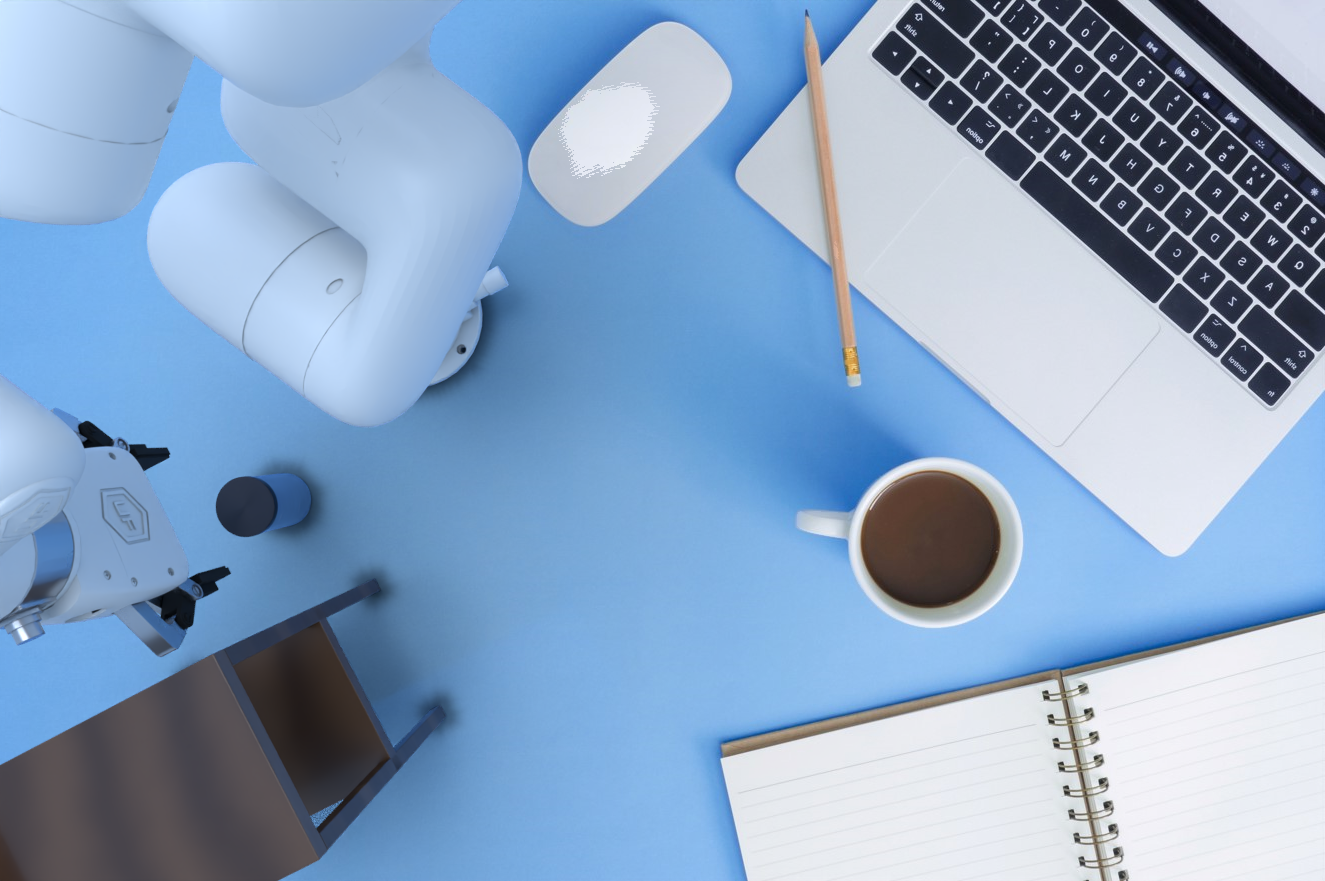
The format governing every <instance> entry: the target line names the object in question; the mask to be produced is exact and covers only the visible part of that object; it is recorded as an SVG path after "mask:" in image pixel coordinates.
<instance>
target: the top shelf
mask: <svg viewBox="0 0 1325 881" xmlns="http://www.w3.org/2000/svg"><path fill="white" fill-rule="evenodd" d="M316 828H317V826H316V825H315V823H314V822H313V819H312V816H310V815H309V814H308V812H307V810H306V808H305V806H304V804H303V802H302V800H301V798H300V796H299V794H298V792H297V790H296V788H295V786H294V784H293V783H292V781H291V779H290V777H289V775H288V773H287V771H286V769H285V767H284V765H283V763H282V761H281V759H280V757H279V755H278V753H277V752H276V750H275V748H274V746H273V744H272V742H271V740H270V738H269V736H268V734H267V732H266V730H265V728H264V726H263V724H262V722H261V721H260V719H259V717H258V715H257V713H256V711H255V709H254V707H253V705H252V703H251V701H250V699H249V697H248V695H247V693H246V692H245V690H244V688H243V686H242V684H241V682H240V680H239V678H238V676H237V674H236V672H235V670H234V668H233V666H232V664H231V662H230V661H229V659H228V657H227V655H226V653H225V651H224V648H222V649H220V650H218V651H215V652H214V653H211V654H210V655H207V656H206V657H204V658H202V659H200V660H198V661H196V662H194V663H192V664H191V665H188V666H187V667H184V668H183V669H180V670H179V671H176V672H174V673H173V674H171V675H169V676H167V677H166V678H163V679H162V680H160V681H158V682H156V683H154V684H152V685H150V686H148V687H146V688H145V689H142V690H140V691H139V692H137V693H135V694H132V695H131V696H129V697H127V698H125V699H124V700H121V701H119V702H118V703H116V704H114V705H112V706H110V707H108V708H106V709H104V710H102V711H100V712H98V713H96V714H95V715H93V716H91V717H89V718H87V719H85V720H83V721H81V722H79V723H77V724H76V725H73V726H72V727H69V728H67V729H66V730H64V731H62V732H60V733H59V734H56V735H54V736H52V737H51V738H49V739H46V740H45V741H43V742H41V743H39V744H37V745H35V746H33V747H32V748H30V749H28V750H25V751H24V752H22V753H20V754H18V755H15V756H14V757H13V758H11V759H9V760H7V761H5V762H2V763H1V764H0V881H280V880H282V879H284V878H287V877H289V876H291V875H293V874H295V873H297V872H299V871H301V870H302V869H305V868H306V867H309V866H311V865H313V864H315V863H317V862H318V861H320V860H321V859H322V858H323V857H324V856H325V854H326V853H327V852H328V850H327V848H326V846H325V844H324V843H323V841H322V839H321V837H320V835H319V833H318V831H317V829H316Z"/></svg>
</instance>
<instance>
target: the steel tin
mask: <svg viewBox="0 0 1325 881" xmlns="http://www.w3.org/2000/svg"><path fill="white" fill-rule="evenodd" d="M311 505H312V493H311V490H310V488H309V486H308V484H307V483H306V482H305V481H304V480H303V479H302V478H301V477H300V476H297V475H296V474H294V473H290V472H281V473H273V474H272V473H271V474H264V475H255V476H252V475H245V476H244V475H243V476H238V477H235V478H232V479H230V480H229V481H227V482H226V483H225V484H224V485H223V486H222V487H221V488H220V490H219V492H218V494H217V496H216V500H215V513H216V516H217V519H218V522H219V523H220V525H221V526H222V527H223V529H225V530H226V531H227V532H229V533H230V534H231V535H234V536H236V537H240V538H253V537H255V536H260V535H261V534H263V533H267V532H271V531H275V530H278V529H283V528H288V527H291V526H294V525H297V524H299V523H300V522H302V521H303V520H304V519H305V518H306V517H307V515H308V514H309V512H310V510H311Z"/></svg>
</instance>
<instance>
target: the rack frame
mask: <svg viewBox="0 0 1325 881" xmlns="http://www.w3.org/2000/svg"><path fill="white" fill-rule="evenodd" d="M380 591H381V587H380V586H379V584H378V582H377V580H376V578H372V579H369V580H368V581H366V582H363V583H362V584H359V585H357V586H355V587H353V588H351V589H349V590H347V591H344V592H342V593H340V594H337V595H336V596H333V597H331V598H329V599H327V600H324V601H323V602H321V603H318V604H317V605H314V606H312V607H310V608H307V609H305V610H304V611H301V612H299V613H297V614H295V615H292V616H290V617H288V618H286V619H284V620H282V621H280V622H277V623H276V624H273V625H271V626H270V627H267V628H265V629H262V630H261V631H259V632H256V633H254V634H252V635H250V636H247V637H245V638H243V639H241V640H239V641H237V642H235V643H232V644H230V645H228V646H226V647H224V648H223V649H224V651H225V653H226V655H227V657H228V659H229V661H230V662H231V664H232V666H233V668H234V670H235V672H236V674H237V676H238V678H239V680H240V682H241V684H242V686H243V688H244V690H245V692H246V693H247V695H248V697H249V699H250V701H251V703H252V705H253V707H254V709H255V711H256V713H257V715H258V717H259V719H260V721H261V722H262V724H263V726H264V728H265V730H266V732H267V734H268V736H269V738H270V740H271V742H272V744H273V746H274V748H275V750H276V752H277V753H278V755H279V757H280V759H281V761H282V763H283V765H284V767H285V769H286V771H287V773H288V775H289V777H290V779H291V781H292V783H293V784H294V786H295V788H296V790H297V792H298V794H299V796H300V798H301V800H302V802H303V804H304V806H305V808H306V810H307V812H308V814H309V815H310V817H312V816H313V815H316V814H318V813H319V812H322V811H324V810H325V809H327V808H329V807H332V806H333V805H336V804H338V803H339V804H338V805H336V807H335V808H334V809H333V810H332V811H331V812H330V813H329V814H328V815H327V816H326V817H325V818H324V819H323V821H322V822H320V823H319V824H318V826H316V829H317V831H318V833H319V835H320V837H321V839H322V841H323V843H324V844H325V846H326V848H327V851H329V849H330V848H331V847H332V846H333V845H334V844H335V843H336V842H337V840H339V838H340V837H341V836H342V835H343V834H344V833H345V832H346V830H348V828H349V827H350V826H351V825H352V824H353V823H354V822H355V820H356V819H357V818H358V817H359V816H360V815H361V814H362V812H363V811H364V810H365V809H366V808H367V807H368V805H369V804H370V803H371V802H372V801H373V800H374V799H375V798H376V797H377V795H378V794H379V793H380V792H381V791H382V790H383V789H384V788H385V786H386V785H387V784H388V783H389V782H390V781H391V780H392V779H393V777H394V776H395V775H396V774H397V773H398V772H399V771H400V770H401V768H403V766H404V765H405V764H406V763H407V762H408V761H409V759H411V757H412V756H413V755H414V754H415V753H416V752H417V750H418V749H419V748H420V747H421V746H422V744H424V742H425V741H426V740H427V739H428V738H429V737H430V736H431V735H432V734H433V732H434V731H435V730H436V729H437V728H438V727H439V726H440V724H442V722H443V721H444V720H445V719H446V718H447V715H446V713H445V710H444V709H443V707H442V705H440V704H439V705H437V706H436V707H433V708H431V709H430V710H428V711H427V712H426V713H425V715H423V717H422V718H421V719H420V720H419V721H418V722H417V723H416V724H415V725H414V726H413V727H412V728H411V729H410V730H409V731H408V732H407V733H406V734H405V735H404V736H403V737H402V738H401V740H399V741H398V743H397V744H396V745H394V746H393V744H392V742H391V740H390V738H389V737H388V734H387V733H386V730H385V729H384V726H383V725H382V722H381V721H380V719H379V717H378V715H377V713H376V711H375V709H374V707H373V706H372V703H371V701H370V700H369V698H368V696H367V694H366V692H365V690H364V688H363V686H362V684H361V681H360V680H359V678H358V676H357V674H356V673H355V671H354V669H353V667H352V664H351V663H350V661H349V659H348V657H347V655H346V653H345V652H344V649H343V648H342V647H343V646H342V645H341V644H340V642H339V640H338V637H337V636H336V633H335V632H334V630H333V628H332V626H331V624H330V622H329V620H328V618H329V617H331V616H334V615H335V614H337V613H339V612H341V611H344V610H345V609H347V608H349V607H351V606H353V605H355V604H357V603H359V602H360V601H363V600H365V599H366V598H369V597H371V596H373V594H376V593H379V592H380Z"/></svg>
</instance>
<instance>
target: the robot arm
mask: <svg viewBox="0 0 1325 881" xmlns="http://www.w3.org/2000/svg"><path fill="white" fill-rule="evenodd" d="M463 1H464V0H0V218H2V219H6V220H12V221H17V222H23V223H31V224H39V225H47V226H48V225H49V226H50V225H51V226H72V227H77V226H78V227H81V226H94V225H100V224H104V223H105V224H106V223H108V222H112V221H115V220H118V219H120V218H123V217H124V216H127V215H128V214H129V213H131V212H132V211H133V210H134V209H135V208H136V207H138V205H140V203H141V202H142V200H143V199H144V197H145V194H146V193H147V190H148V188H149V186H150V183H151V180H152V176H153V173H154V172H155V168H156V165H157V162H158V159H159V157H160V154H161V152H162V148H163V146H164V143H165V140H166V138H167V135H168V132H169V128H170V126H171V122H172V120H173V117H174V115H175V112H176V110H177V106H178V104H179V101H180V98H181V95H182V93H183V90H184V87H185V84H186V82H187V79H188V77H189V74H190V70H191V68H192V65H193V62H194V60H195V57H196V58H197V59H198V60H200V62H202V63H203V64H205V65H206V66H207V67H209V68H210V69H212V70H213V71H214V72H215V73H217V74H219V75H220V76H221V77H222V80H221V85H220V86H221V87H220V98H219V105H220V107H219V108H220V115H221V118H222V121H223V122H222V123H223V125H224V128H225V130H226V131H227V133H228V134H229V136H230V138H231V139H232V141H233V142H234V143H235V144H236V145H237V146H238V148H239V149H240V150H241V152H243V153H244V154H245V155H246V156H247V157H249V158H250V159H251V160H252V161H253V162H254V163H250V162H244V161H221V162H214V163H209V164H205V165H203V166H200V167H197V168H194V169H193V170H190V171H189V172H187V173H185V174H183V175H182V176H181V177H179V178H178V179H176V180H175V181H173V182H172V183H171V185H169V186H168V187H167V188H166V189H165V190H164V192H163V193H162V194H161V196H160V197H159V198H158V200H157V202H156V203H155V205H154V207H153V209H152V212H151V214H150V216H149V220H148V224H147V230H146V250H147V254H148V258H149V261H150V264H151V267H152V269H153V271H154V274H155V275H156V277H157V279H158V280H159V282H160V283H161V285H162V286H163V288H164V289H165V290H166V291H167V293H168V294H169V295H170V296H171V297H172V298H173V299H174V300H175V301H176V302H177V303H178V304H179V305H180V306H181V307H182V308H183V309H185V310H186V311H187V312H188V313H189V314H190V315H192V316H193V317H194V318H195V319H197V320H198V321H199V322H201V323H202V325H204V326H206V327H207V328H208V329H210V330H211V331H212V332H213V333H214V334H216V335H217V336H219V337H221V339H223V340H224V341H225V342H227V343H228V344H230V345H231V346H232V347H233V348H235V349H237V350H238V351H239V352H241V353H242V354H243V355H245V357H247V358H249V359H250V360H251V361H253V362H255V363H257V364H258V365H259V366H261V367H262V368H263V369H265V370H266V371H268V372H269V373H270V374H271V375H272V376H274V377H275V378H277V379H278V380H279V381H281V382H282V383H283V384H284V385H285V386H287V387H289V388H290V389H291V390H293V391H294V392H295V393H297V394H298V395H299V396H301V397H302V398H303V399H304V400H306V401H307V402H309V403H311V404H312V405H313V406H315V407H316V408H318V409H319V410H321V411H322V412H323V413H325V414H327V415H328V416H330V417H332V418H333V419H335V420H337V421H339V422H341V423H344V424H346V425H349V426H352V427H357V428H376V427H381V426H383V425H386V424H389V423H391V422H394V421H395V420H397V419H398V418H399V417H401V416H402V415H403V414H405V413H406V412H407V411H408V410H409V409H411V407H413V406H414V405H415V404H416V403H417V401H418V400H419V399H420V398H421V396H422V395H423V394H424V392H425V391H426V390H427V388H428V387H431V386H434V385H436V384H439V383H441V382H444V381H447V380H448V379H449V378H451V377H452V376H453V375H456V373H458V372H459V371H460V370H461V369H462V368H463V367H464V366H465V365H466V364H467V362H468V361H469V359H470V358H471V356H472V355H473V353H474V352H475V349H476V347H477V346H478V343H479V340H480V337H481V333H482V329H483V328H482V327H483V307H482V301H481V300H482V299H484V298H486V297H488V296H493V295H495V294H496V293H498V292H500V291H502V290H504V289H505V288H507V287H510V284H509V281H508V279H507V277H506V275H505V274H504V272H503V271H502V269H501V267H500V266H499V265H496V266H494V267H493V268H491V269H490V266H491V264H492V262H493V260H494V258H495V256H496V254H497V252H498V250H499V248H500V245H501V243H502V241H503V240H504V238H505V235H506V233H507V231H508V229H509V226H510V223H511V222H512V218H513V216H514V214H515V211H516V208H517V205H518V203H519V200H520V194H521V191H522V186H523V185H522V184H523V173H524V168H523V158H522V153H521V149H520V146H519V144H518V141H517V139H516V137H515V135H514V134H513V132H512V131H511V129H510V128H509V127H508V126H507V124H506V123H505V121H503V119H501V118H500V116H498V115H497V114H496V113H495V112H494V111H493V110H492V109H491V108H489V107H488V106H487V105H485V103H483V102H481V101H480V100H479V99H478V98H476V97H475V96H473V95H472V94H471V93H470V92H468V91H467V90H466V89H464V88H463V87H461V86H460V85H459V84H458V83H456V82H454V80H452V79H451V78H450V77H448V76H446V75H445V74H444V73H443V72H441V71H440V70H438V69H437V67H436V66H435V64H434V63H433V60H432V56H431V47H430V46H431V41H432V37H433V34H434V30H435V27H436V25H438V24H439V23H440V22H441V21H442V20H443V19H444V18H445V17H446V16H447V15H449V14H450V12H452V11H453V10H454V9H455V8H457V6H458V5H460V4H461V2H463ZM464 348H465V351H464V352H463V351H462V350H463V349H464ZM170 455H171V452H170V450H169V448H168V447H166V446H165V447H164V446H163V447H162V446H161V447H147V445H146V444H145V443H128V441H127V440H126V439H125V438H123V437H121V436H118V437H115V438H112V437H111V436H109V435H108V434H107V433H106V432H104V431H103V430H102V429H101V428H99V427H98V426H97V425H95V423H93V422H91V421H89V420H84V421H83V422H82V421H80V420H79V418H78V417H76V416H74V415H72V414H71V413H68V412H67V411H65V410H62V409H61V408H58V407H54V408H52V409H49V408H47V407H46V406H45V405H44V404H42V403H41V402H40V401H38V400H37V399H36V398H35V397H33V396H31V395H30V394H29V393H28V392H26V391H25V390H23V389H22V388H21V387H19V386H18V385H17V384H16V383H14V382H13V381H12V380H10V379H9V378H8V377H6V376H5V375H3V374H2V373H1V372H0V630H5V631H6V633H7V635H11V636H12V639H13V641H14V642H15V645H16V646H22V645H24V644H27V643H30V642H31V641H34V640H36V639H39V638H40V637H42V636H44V635H45V634H46V631H45V628H43V626H58V625H68V624H76V623H82V622H88V621H94V620H98V619H99V620H100V619H104V618H109V617H112V616H116V617H117V618H118V619H119V620H120V622H122V623H123V625H125V626H126V628H128V630H130V631H131V632H132V633H133V634H134V635H135V636H136V637H137V638H138V639H139V640H140V641H141V642H142V643H143V644H144V645H145V646H146V647H147V648H148V649H149V650H150V651H151V652H152V653H153V654H154V655H155V656H157V657H159V658H162V657H163V658H164V657H165V656H167V655H169V654H170V653H172V652H175V651H176V650H178V649H179V648H181V645H182V643H183V641H184V639H185V637H186V636H187V634H188V633H187V631H188V629H189V628H191V627H193V626H194V622H195V615H196V614H195V613H196V603H197V601H199V600H201V599H204V598H206V597H208V596H210V595H212V594H214V593H215V592H218V591H219V588H220V587H218V584H217V582H219V581H220V580H222V579H224V578H227V577H228V576H229V575H232V571H231V570H230V568H229V567H228V566H227V567H226V565H222V566H219V567H215V568H212V569H208V570H205V571H200V572H198V573H195V574H193V575H191V576H190V567H189V566H190V565H189V561H188V558H187V554H186V553H185V550H184V548H183V546H182V543H181V541H180V539H179V538H178V536H177V533H176V531H175V528H174V527H173V525H172V523H171V521H170V519H169V517H168V514H167V513H166V512H165V508H164V507H163V506H162V503H161V502H160V499H159V498H158V496H157V494H156V492H155V490H154V488H153V486H152V484H151V482H150V481H149V478H148V476H147V475H146V473H145V471H147V470H149V469H151V468H153V467H155V466H157V465H159V464H160V463H163V462H164V461H167V460H168V459H169V458H171V456H170Z"/></svg>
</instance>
